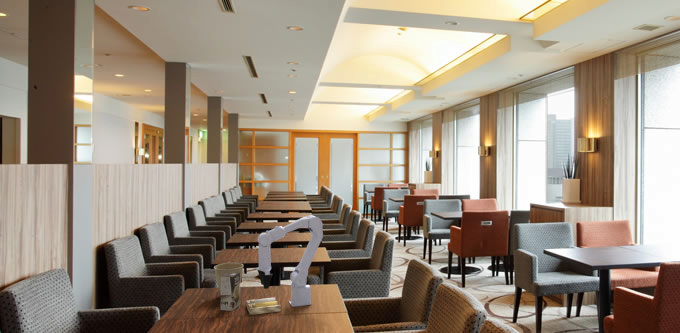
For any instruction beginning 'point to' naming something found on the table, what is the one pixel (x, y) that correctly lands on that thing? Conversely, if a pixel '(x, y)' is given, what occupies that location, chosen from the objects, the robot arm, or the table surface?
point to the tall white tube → (264, 300)
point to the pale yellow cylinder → (266, 304)
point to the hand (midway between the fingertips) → (264, 286)
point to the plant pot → (226, 268)
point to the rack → (261, 308)
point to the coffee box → (230, 291)
